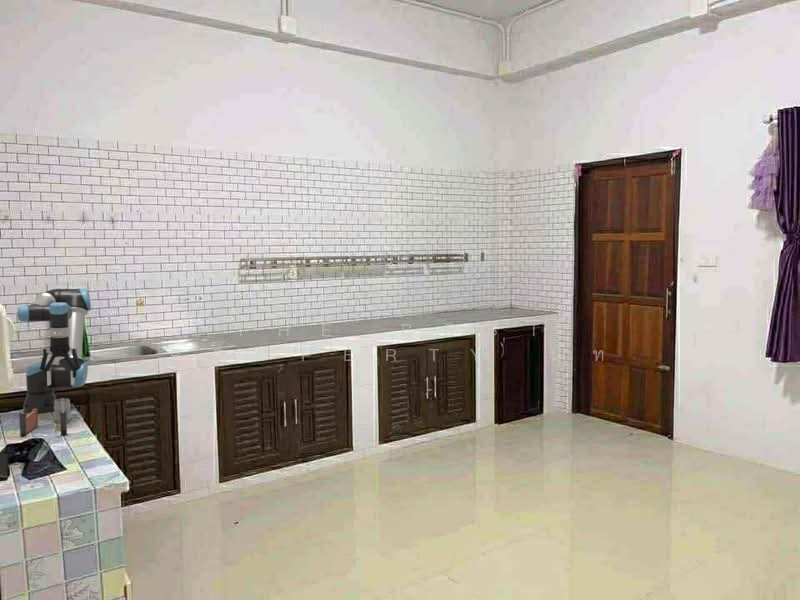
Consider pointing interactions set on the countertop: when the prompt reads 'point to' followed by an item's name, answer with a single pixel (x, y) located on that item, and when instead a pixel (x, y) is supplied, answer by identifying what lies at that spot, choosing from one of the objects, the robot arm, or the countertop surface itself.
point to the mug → (62, 409)
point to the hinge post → (22, 424)
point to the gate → (31, 420)
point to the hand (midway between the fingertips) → (61, 384)
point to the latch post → (62, 423)
